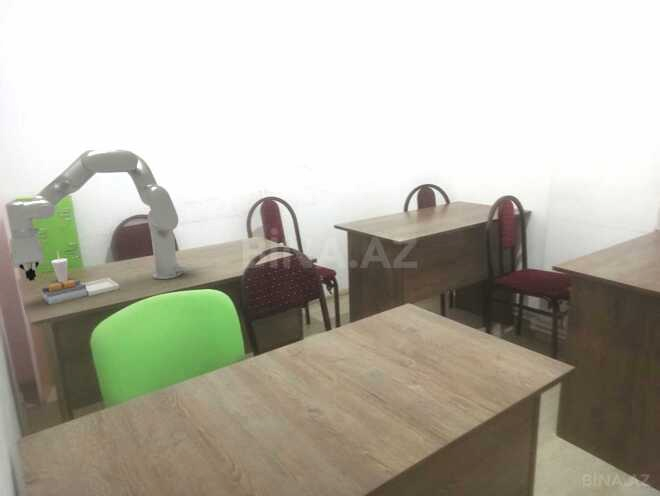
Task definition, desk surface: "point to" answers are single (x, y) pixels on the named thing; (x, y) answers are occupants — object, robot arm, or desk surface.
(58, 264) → the smoothie
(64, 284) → the orange square block
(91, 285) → the tray
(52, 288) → the chip
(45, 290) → the slot block
